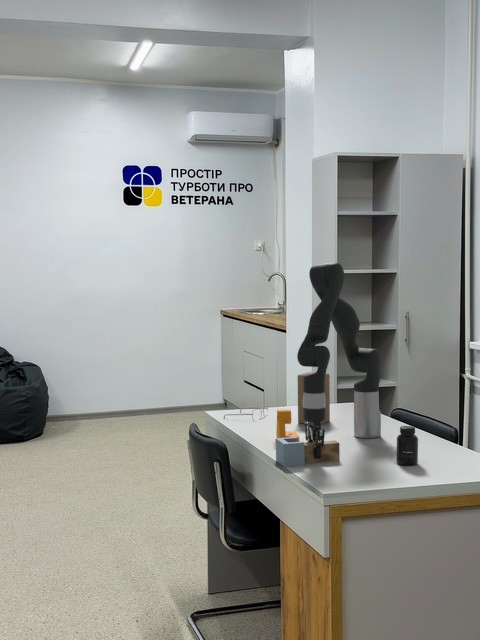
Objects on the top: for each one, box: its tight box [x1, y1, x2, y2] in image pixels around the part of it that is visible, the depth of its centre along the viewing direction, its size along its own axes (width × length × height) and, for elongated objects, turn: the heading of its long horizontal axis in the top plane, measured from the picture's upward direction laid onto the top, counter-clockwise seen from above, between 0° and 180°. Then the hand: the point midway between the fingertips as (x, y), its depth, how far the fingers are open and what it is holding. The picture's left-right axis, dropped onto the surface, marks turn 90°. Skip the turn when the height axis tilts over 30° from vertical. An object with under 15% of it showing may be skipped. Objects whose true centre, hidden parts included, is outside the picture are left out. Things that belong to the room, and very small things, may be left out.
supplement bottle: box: [396, 425, 419, 467], centre depth 264 cm, size 7×7×12 cm
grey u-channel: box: [275, 437, 306, 468], centre depth 267 cm, size 7×9×8 cm
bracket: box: [276, 408, 300, 442], centre depth 300 cm, size 11×7×12 cm, turn 4°
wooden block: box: [297, 371, 331, 425], centre depth 336 cm, size 10×10×20 cm
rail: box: [304, 440, 341, 464], centre depth 269 cm, size 16×4×6 cm, turn 104°
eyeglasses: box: [223, 404, 269, 422], centre depth 351 cm, size 16×15×5 cm
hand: (314, 456), depth 269 cm, fingers open, 5 cm apart
